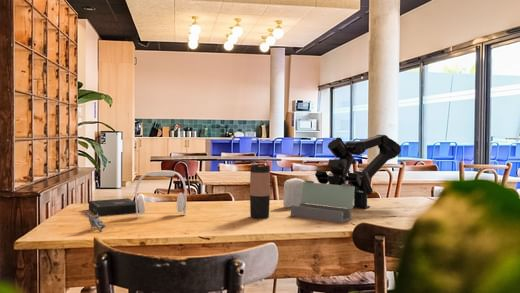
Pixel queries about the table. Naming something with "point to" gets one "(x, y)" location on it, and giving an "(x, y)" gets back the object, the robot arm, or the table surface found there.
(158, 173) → the headset
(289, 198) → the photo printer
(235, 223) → the table surface
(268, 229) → the table surface
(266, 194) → the travel mug
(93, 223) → the elephant figurine
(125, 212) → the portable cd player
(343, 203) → the duct cover
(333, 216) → the cable duct
